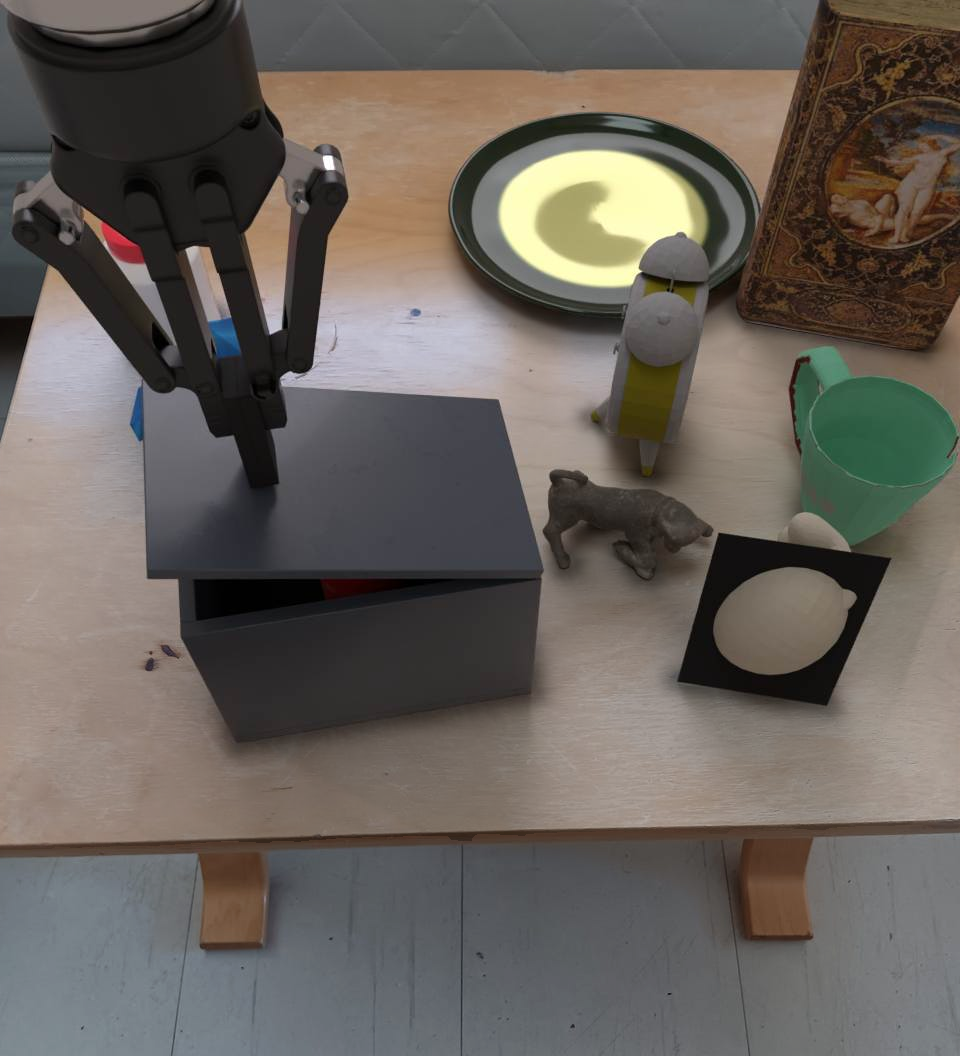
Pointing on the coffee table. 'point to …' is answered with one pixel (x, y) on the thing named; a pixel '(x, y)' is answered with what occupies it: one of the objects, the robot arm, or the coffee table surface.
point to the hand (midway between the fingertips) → (262, 466)
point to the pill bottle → (139, 277)
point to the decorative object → (781, 612)
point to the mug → (865, 444)
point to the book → (865, 180)
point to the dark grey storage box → (355, 648)
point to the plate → (597, 207)
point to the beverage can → (358, 587)
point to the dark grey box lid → (338, 492)
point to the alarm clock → (658, 346)
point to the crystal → (224, 348)
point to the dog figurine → (620, 518)
